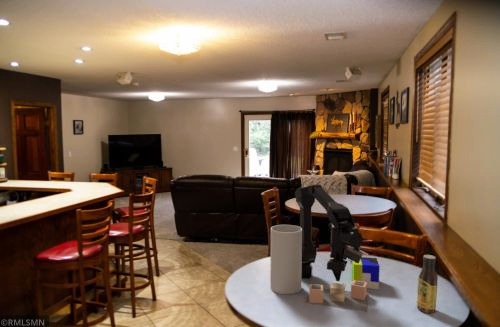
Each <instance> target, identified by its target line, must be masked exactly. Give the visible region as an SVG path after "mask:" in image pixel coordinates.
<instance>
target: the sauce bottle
mask: <svg viewBox="0 0 500 327" xmlns="http://www.w3.org/2000/svg"><path fill="white" fill-rule="evenodd" d="M422 260H423V263H422V264H423V265H422V268H421V271H420V272H419V275H418V281H417V296H416V307H417V309H418V310H419V311H421V312H422V313H426V314H433V313H435V312H436V308H437V299H438V298H437V297H438V296H437V295H438V278H439V277H438V274H437V272H436V261H437V257H436V256H434V255H431V254H424V255H423V256H422Z"/></svg>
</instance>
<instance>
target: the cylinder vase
mask: <svg viewBox="0 0 500 327" xmlns="http://www.w3.org/2000/svg"><path fill="white" fill-rule="evenodd" d="M301 274H302V228H301V227H300V226H299V225H294V224H293V225H292V224H277V225H273V226H271V227H270V278H269V279H270V282H269V283H270V286H269V287H270V289H271V291H272V292H274V293H276V294H280V295H294V294H298V293H300V292H301V290H302V278H301Z"/></svg>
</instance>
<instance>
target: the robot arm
mask: <svg viewBox="0 0 500 327" xmlns="http://www.w3.org/2000/svg"><path fill="white" fill-rule="evenodd" d="M294 197H295V201H296V204H297V205H298V208H299V227H301V228H302V274H301V279H304V280H305V279H306V280H310V279H311V277H312V276H313V265H312V264H315V262H316V259H317V253H318V252H317V245H315V244H314V242H313V240H312V239H313V236H312V235H313V234H312V232H313V231H312V207H313V206H314V204H315V202H316V201H317V202H318V203H319V204H320V205H321V206H322V207H323V208H324V210H325V211H326V217H327V219H328V220H329V222H330V223H329V224H327V225H328V227H329V228H330V229H331V230H330V232H331V233H330V244H329V247H330V254H329V257H330V259H329V260H327V263H326V270H330V271H331V272H332V274H333V276H334V278H335V281H336V282H341V281H340V280H341V277H342V273H343V272H345V270H346V267H347V264H348V261H347V259H349V260H350V261H351V260H352V261H354V262H355V263H359V262H360V259H361V257H363V256H362V252H360V249H361V248H360V247H361V245H362V244H363V240H364V238H363V235H362V233H361V232H359V228H358V227H356V224H355V220H354V219H353V216H352V214H351V212H350V211H351V210H350V209H349V208H348V207H347V206H346V205H344V204H342V203H339V202H337V201H335V199H334V198H332V197H331V195H330V194H329V193H328V192H327V191H326V190H325V189H324V188H323V186H322V185H321V184H319V183H317V184H316V183H315V184H310V185H307V186H304V187H297V188H296V190H295V192H294ZM348 246H351V248H350V247H348ZM352 247H353V248H352ZM352 261H351V262H352Z"/></svg>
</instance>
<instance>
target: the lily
mask: <svg viewBox="0 0 500 327" xmlns="http://www.w3.org/2000/svg"><path fill="white" fill-rule="evenodd" d="M348 247H350V248H351V246H348ZM352 248H353V247H352ZM360 252H362V257H364V256H369V253H368V252H366V251H363V250H360ZM350 264H351V265H352V260H350Z"/></svg>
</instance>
